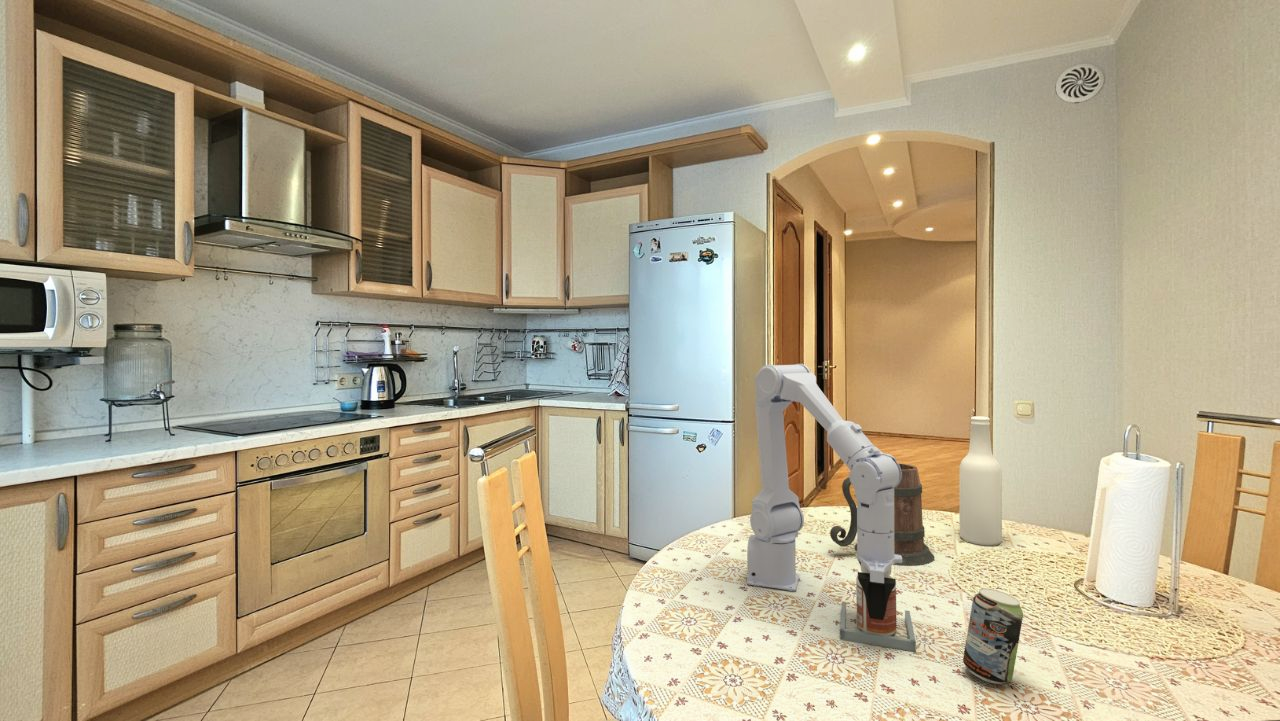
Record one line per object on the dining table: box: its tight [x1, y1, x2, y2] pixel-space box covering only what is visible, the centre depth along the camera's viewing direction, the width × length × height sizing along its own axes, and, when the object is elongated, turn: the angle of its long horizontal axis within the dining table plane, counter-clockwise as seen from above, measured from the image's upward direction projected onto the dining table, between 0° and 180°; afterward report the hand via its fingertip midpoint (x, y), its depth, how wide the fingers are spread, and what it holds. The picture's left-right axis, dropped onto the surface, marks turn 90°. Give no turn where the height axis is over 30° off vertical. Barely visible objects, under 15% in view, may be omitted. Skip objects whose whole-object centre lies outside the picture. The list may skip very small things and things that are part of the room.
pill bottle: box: [855, 563, 897, 636], centre depth 93 cm, size 6×6×11 cm
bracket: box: [839, 600, 917, 653], centre depth 93 cm, size 11×11×2 cm
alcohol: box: [958, 415, 1003, 547], centre depth 135 cm, size 9×9×30 cm
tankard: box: [829, 463, 936, 567], centre depth 127 cm, size 24×17×20 cm
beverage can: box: [962, 587, 1024, 685], centre depth 79 cm, size 6×7×12 cm
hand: (875, 608), depth 93 cm, fingers open, 6 cm apart
